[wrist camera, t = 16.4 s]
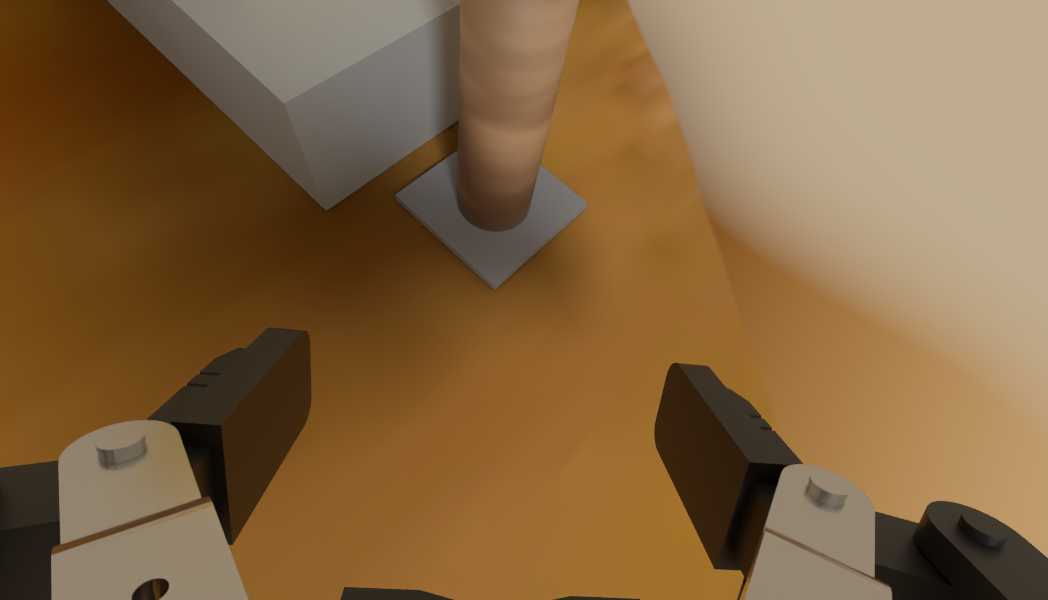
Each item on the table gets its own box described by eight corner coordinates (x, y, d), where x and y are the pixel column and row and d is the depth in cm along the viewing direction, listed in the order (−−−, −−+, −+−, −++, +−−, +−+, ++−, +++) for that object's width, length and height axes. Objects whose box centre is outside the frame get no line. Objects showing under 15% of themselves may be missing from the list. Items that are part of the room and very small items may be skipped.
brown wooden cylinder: (441, 198, 22) (432, -124, 11) (493, 159, 23) (528, -165, 12) (494, 245, 21) (537, -48, 11) (544, 202, 23) (629, -99, 12)
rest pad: (395, 200, 22) (394, 194, 22) (492, 130, 25) (492, 124, 24) (494, 290, 21) (495, 286, 21) (585, 208, 23) (587, 203, 23)
